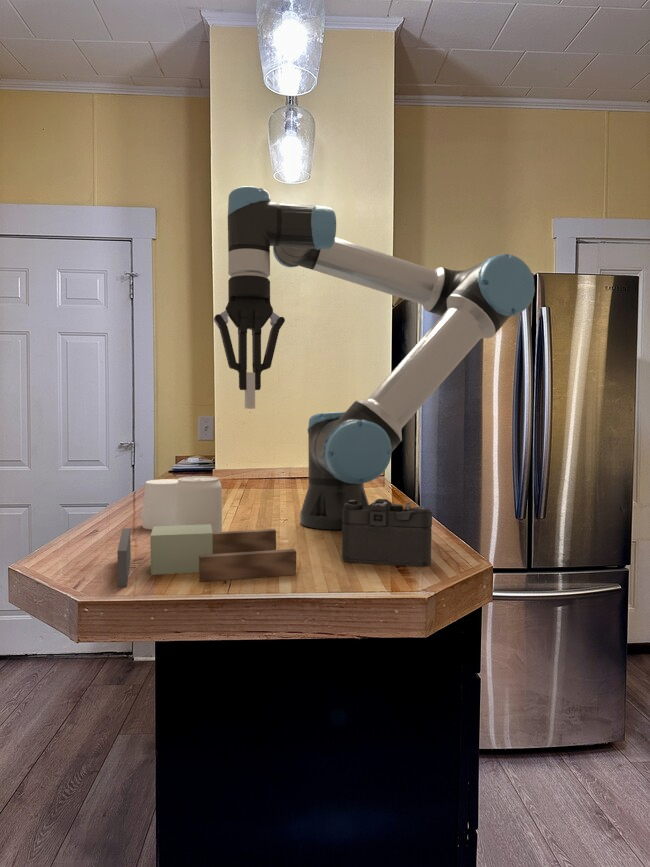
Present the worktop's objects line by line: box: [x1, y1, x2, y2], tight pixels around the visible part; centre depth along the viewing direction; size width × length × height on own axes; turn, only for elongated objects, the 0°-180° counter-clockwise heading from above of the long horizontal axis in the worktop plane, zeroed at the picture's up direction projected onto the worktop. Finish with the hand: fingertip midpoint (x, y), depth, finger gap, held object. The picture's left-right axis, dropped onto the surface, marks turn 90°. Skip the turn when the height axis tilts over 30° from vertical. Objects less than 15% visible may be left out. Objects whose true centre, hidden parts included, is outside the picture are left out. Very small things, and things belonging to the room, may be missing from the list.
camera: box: [341, 498, 433, 568], centre depth 102 cm, size 14×11×10 cm
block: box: [150, 524, 213, 576], centre depth 97 cm, size 9×7×6 cm
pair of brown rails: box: [198, 528, 297, 583], centre depth 99 cm, size 14×17×4 cm
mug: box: [140, 478, 179, 531], centre depth 128 cm, size 12×9×8 cm
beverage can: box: [175, 475, 223, 532], centre depth 111 cm, size 8×8×12 cm
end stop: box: [116, 527, 132, 588], centre depth 94 cm, size 1×16×5 cm, turn 15°
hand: (249, 408), depth 114 cm, fingers closed
